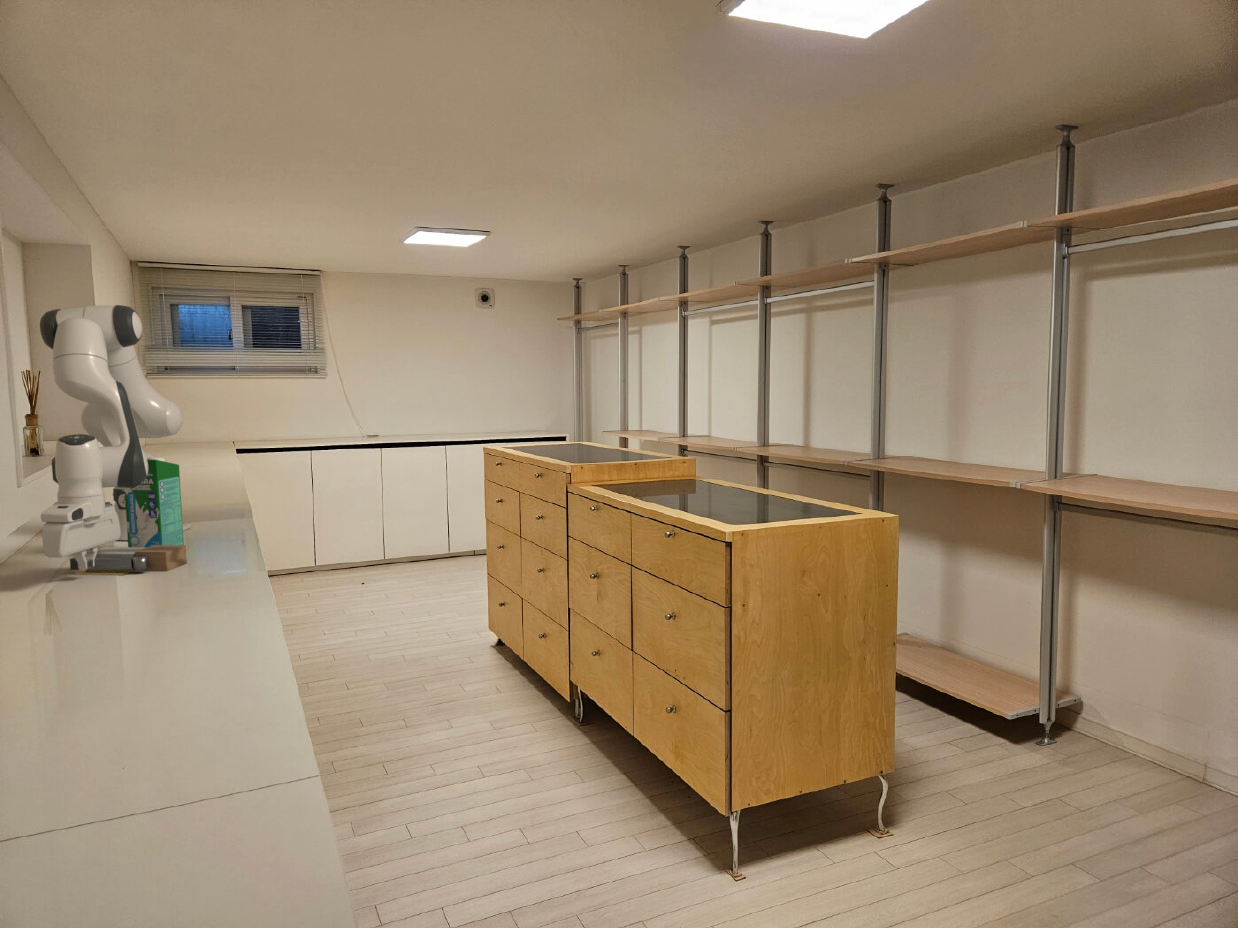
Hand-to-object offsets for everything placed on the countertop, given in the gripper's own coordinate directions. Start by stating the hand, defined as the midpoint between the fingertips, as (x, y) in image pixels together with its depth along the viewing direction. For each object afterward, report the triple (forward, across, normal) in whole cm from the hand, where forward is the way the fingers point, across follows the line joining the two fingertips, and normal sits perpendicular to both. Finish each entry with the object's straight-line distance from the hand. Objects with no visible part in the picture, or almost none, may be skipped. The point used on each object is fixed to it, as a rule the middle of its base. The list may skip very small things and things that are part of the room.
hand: (86, 568), depth 186 cm
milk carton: (+3, -26, 0) cm, 26 cm away
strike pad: (+2, -6, 0) cm, 6 cm away
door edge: (+2, -12, +4) cm, 13 cm away
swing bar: (+2, -6, +2) cm, 6 cm away
